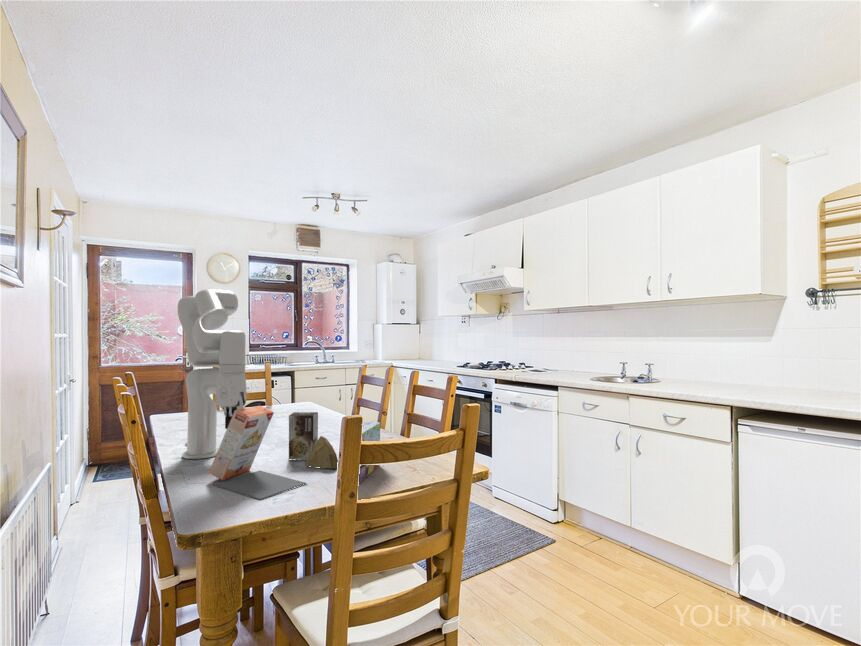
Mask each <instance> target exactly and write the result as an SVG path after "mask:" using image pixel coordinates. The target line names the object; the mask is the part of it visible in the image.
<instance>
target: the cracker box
mask: <svg viewBox="0 0 861 646" xmlns="http://www.w3.org/2000/svg"><path fill="white" fill-rule="evenodd" d="M273 415H274V411H272V410H270V409H268V408H266V407H264V406H263V405H257V406H250V407H244V409H238V410H235V411H234V413H233V416H232V418H231V420H230V423H229V425H228V428H227V429H225V430H226V431H225V432H224V434H223V438H222V439H221V442H220V444H219V447H218V452H217V454H216V456H214V459H213V462H212V464H211V466H210V469H209V471H208V473H209V474H210V475H212V476H213V477H216V478H218V479H219V480H221V481H224V480H228V479H232V478H234V477H237V476H239V475H241V474H242V473H246V472H248V471H250V470H251V468H252V466H253V463H254V461H255V458H256V456H257V453H258V451H259V448H260V446H261V444H262V441H263V440H264V437H265V435H266V433H267V430H268V427H269V424H270V423H271V420H272V417H273Z"/></svg>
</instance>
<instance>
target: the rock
mask: <svg viewBox="0 0 861 646" xmlns="http://www.w3.org/2000/svg"><path fill="white" fill-rule="evenodd" d="M337 462H338V463H339V460H338V457H337V453H336V451H335V449H334V447H333V445H332V444H331V443H330V441H329V440H328V439H327V438H326V437H325V436H322V435H320V436H319V438H318V441H317V442H316V444H315V446H314V448H313V450H312V452H311V454H310V455H309V457H308V460H306V464H305V466H311V467H320V468H319V469H322V468H334V469H333V470H335V468H336V469H338V468H337ZM311 467H310V468H311Z"/></svg>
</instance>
